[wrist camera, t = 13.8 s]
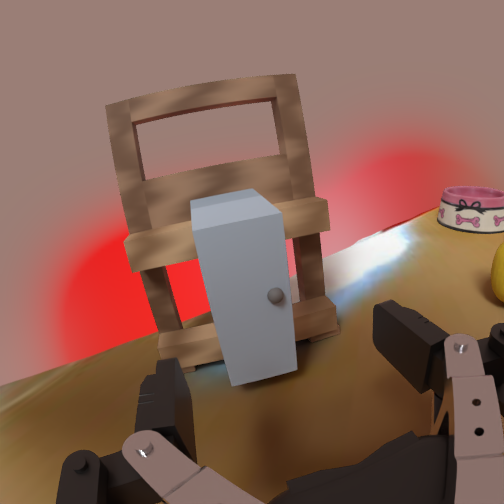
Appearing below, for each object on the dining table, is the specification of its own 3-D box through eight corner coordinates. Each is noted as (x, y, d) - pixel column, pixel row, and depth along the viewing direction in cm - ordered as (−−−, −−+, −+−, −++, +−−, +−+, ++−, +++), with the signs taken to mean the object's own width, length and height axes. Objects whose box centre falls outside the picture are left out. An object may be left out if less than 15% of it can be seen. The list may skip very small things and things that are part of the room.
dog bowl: (515, 218, 50) (516, 188, 48) (509, 240, 40) (511, 202, 38) (450, 209, 65) (449, 182, 63) (425, 228, 55) (424, 194, 53)
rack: (164, 379, 26) (90, 101, 18) (167, 342, 32) (111, 114, 24) (342, 336, 28) (311, 65, 21) (317, 307, 34) (287, 84, 27)
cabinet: (233, 392, 20) (192, 234, 16) (218, 326, 28) (190, 200, 24) (300, 375, 21) (285, 215, 16) (270, 314, 29) (252, 188, 24)
